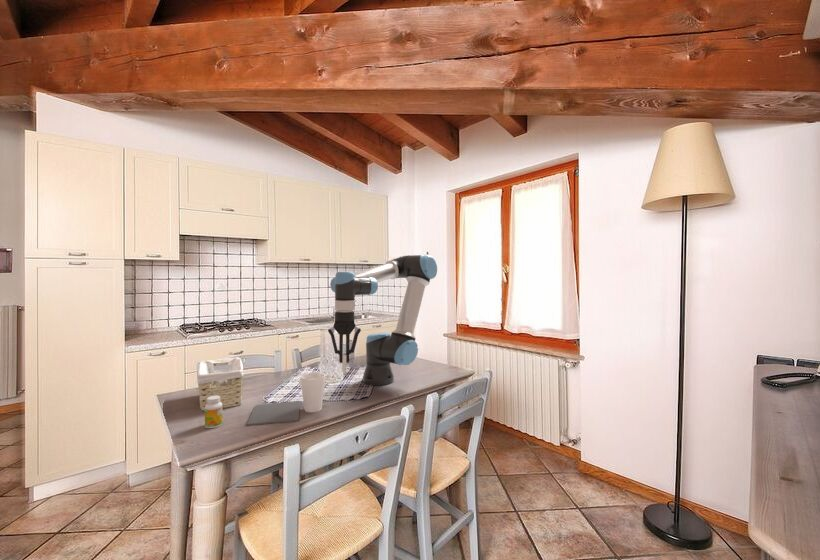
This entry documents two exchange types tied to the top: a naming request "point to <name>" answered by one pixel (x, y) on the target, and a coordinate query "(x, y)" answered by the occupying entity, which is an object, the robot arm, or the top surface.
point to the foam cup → (313, 390)
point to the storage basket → (220, 381)
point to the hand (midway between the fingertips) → (344, 370)
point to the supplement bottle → (213, 412)
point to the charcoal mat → (274, 413)
